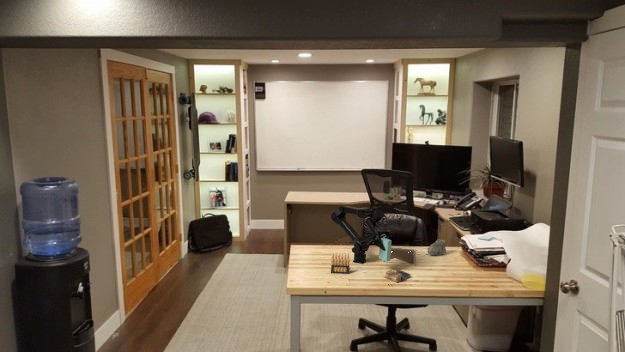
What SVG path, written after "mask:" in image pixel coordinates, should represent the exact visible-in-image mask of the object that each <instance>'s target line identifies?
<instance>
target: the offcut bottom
mask: <svg viewBox="0 0 625 352" xmlns="http://www.w3.org/2000/svg"><path fill="white" fill-rule="evenodd" d="M384 277H385V278H384V279H387V280H389V279H390V280H389V281H391V280H392V282H394V281H395V282H394V283H396V282H399V281H401V278H400V279H397V280H395V279H393V278H390V277H388V276H386V275H385V276H384ZM399 283H400V282H399Z"/></svg>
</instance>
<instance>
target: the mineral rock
mask: <svg viewBox="0 0 625 352" xmlns="http://www.w3.org/2000/svg"><path fill="white" fill-rule="evenodd" d="M446 253H447V249H446V240H445V239H441V238H438V239H436V241H435V242H434V243H432V244H430V245H429V246H428V247H427V254H428V255H430V256H431V255H432V256H438V255H445V254H446Z"/></svg>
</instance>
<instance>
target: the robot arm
mask: <svg viewBox="0 0 625 352" xmlns="http://www.w3.org/2000/svg"><path fill="white" fill-rule="evenodd" d="M347 214H352V215H355V216H357V217H358V218H359V219H363V221H362V225H365V226H366V227H367V229H368V233H369V234H370V235H369V236H368V237H367V238H366V237H365V236H364V235H363V236H361V235H360V234H358V232H357V231H356V230H355V229H354V228H353V226H352V225H350V223H349V222H348V221H347V217H346V215H347ZM330 218H331V220H332V222H334V223H335V224H336V225H339V226H340V227H341V228H342V230H344V232H345V234H347V235H348V237H349V238H350V239H351V241H352V242H353V247H352V248H351V252H352V253H353V260H352V263H356V264H361V265H363V264H364V263H365V262H366V261H367V254H366V253H367V252H368V250H369V248H370V244H371V243H372V245H374V246H376V247H378V248H381V249H382V250H384V251H385V247H384V245H383V244H382V242H381V238H386V239H389V238H390V237H392V235H394V232H393V230H391V229H390V228H391V226H390V224H388V223H384V224H383V225H382V226H381V225H380V224H379V222H380V221H381V220H382V219H384V218H385V212H384V211H382V210H381V209H379V207H376V208H375V209H374V210H372V209H371V208H370V207H355V206H352V205H347V204H344V205H340V206H339V207H338V208H337V209H336V210H334V212H332V213H331V215H330ZM378 224H379V225H378Z"/></svg>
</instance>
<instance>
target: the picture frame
mask: <svg viewBox="0 0 625 352" xmlns="http://www.w3.org/2000/svg"><path fill="white" fill-rule="evenodd" d="M391 251H393V252H392V253H391V256H390V261H384V260H382V261H383V263H387V264H388V263H389V264H399V265H400V264H401V265H410V266H411V265H414V266H416V255H415V254H416V253H415V249H413V248H402V247H391ZM410 251H411V252H410ZM408 252H409V253H408ZM394 259H397V260H399V261H401V262H397V261H395V262H394V261H391V260H394ZM402 261H403V262H402Z"/></svg>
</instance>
